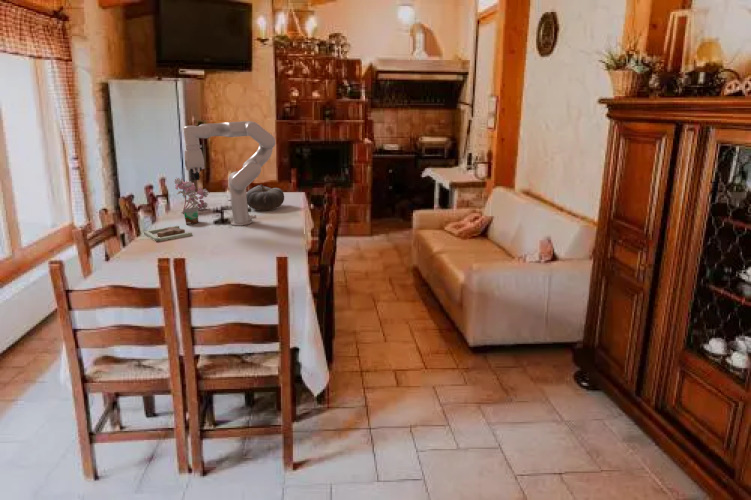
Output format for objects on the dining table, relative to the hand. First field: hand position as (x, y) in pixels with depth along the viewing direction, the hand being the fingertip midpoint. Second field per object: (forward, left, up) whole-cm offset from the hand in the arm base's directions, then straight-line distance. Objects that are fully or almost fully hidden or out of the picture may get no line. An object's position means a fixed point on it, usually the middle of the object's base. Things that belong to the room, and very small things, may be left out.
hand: (196, 179), depth 319 cm
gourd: (-53, -21, -29) cm, 64 cm away
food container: (-1, -16, -29) cm, 33 cm away
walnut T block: (+21, +3, -29) cm, 36 cm away
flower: (-15, -51, -29) cm, 61 cm away
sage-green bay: (+20, +1, -29) cm, 35 cm away
